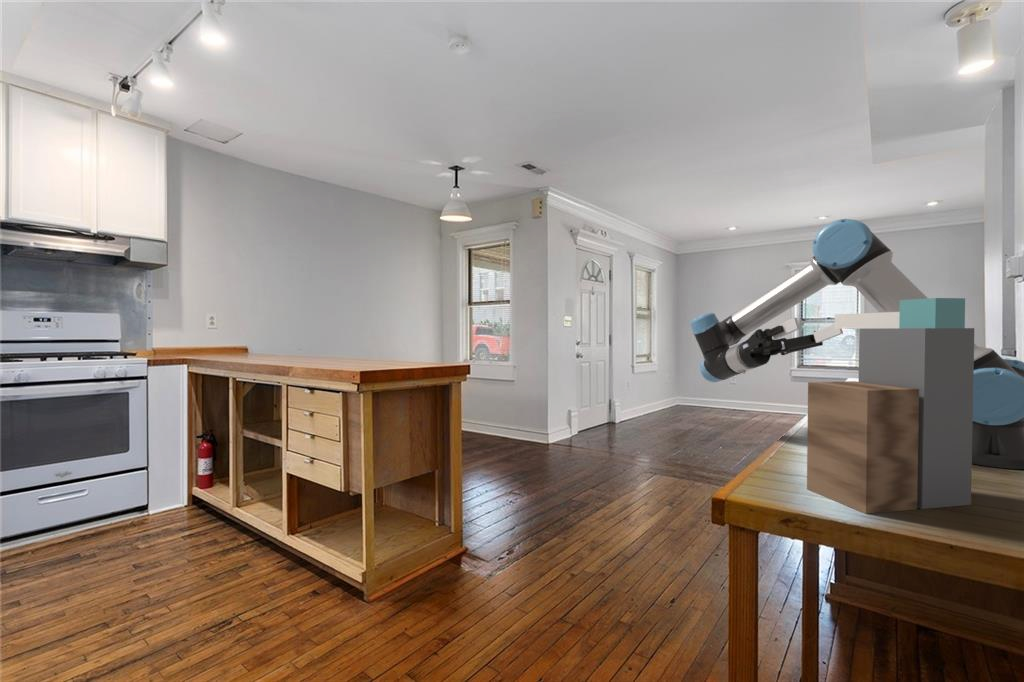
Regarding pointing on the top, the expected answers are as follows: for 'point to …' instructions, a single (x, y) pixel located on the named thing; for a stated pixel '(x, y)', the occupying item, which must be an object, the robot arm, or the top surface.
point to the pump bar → (910, 315)
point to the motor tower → (930, 401)
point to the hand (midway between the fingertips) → (819, 325)
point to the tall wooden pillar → (863, 445)
